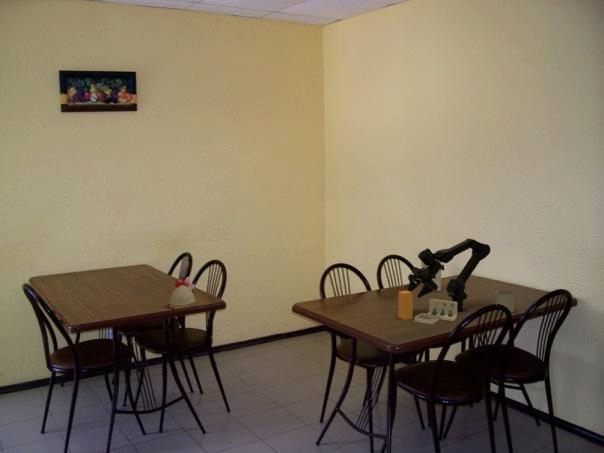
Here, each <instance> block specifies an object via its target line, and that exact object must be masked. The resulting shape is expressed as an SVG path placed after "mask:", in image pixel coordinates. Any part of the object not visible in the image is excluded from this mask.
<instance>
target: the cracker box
mask: <svg viewBox="0 0 604 453" xmlns="http://www.w3.org/2000/svg"><path fill="white" fill-rule="evenodd" d="M435 260H436V259H435ZM420 262H421V267H420V269H421V268H425V269H426V268H427V267H428V265H425V264H424V263H423V262H422V261H421V260H420ZM439 263H440V264H442V262H439ZM435 277H436V278H435V279H434V278H433V279H432V280H433V281H434V282H435V283H436V284H437V286H438V289H437V290H436V291H438V292H440V291H439V290H441V291H442V270H439V271H438V273H437V274H436V275H435ZM421 282H422V281H421ZM420 285H421V288H423V284H421V283H420Z"/></svg>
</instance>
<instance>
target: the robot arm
mask: <svg viewBox="0 0 604 453" xmlns="http://www.w3.org/2000/svg"><path fill="white" fill-rule="evenodd" d="M470 249H471V256H470V258H469V259H468V261H467V262H466V264H465V265H464V266H463V268H462V269H461V271H460V273H459V274H458V275H457V277H456V278H450V280H449V281H448V283H447V284H446V293H447V295H448V297H450V298H451V301H452V302H457V312H464V311H465V310H466V307H464V301H465V300H467V299H468V294H467V293H466V292H465V289H466V283H467V282H468V279H469V278H470V277H471V275H472V274H473V273H474V272H475V270H476V268H477V267H478V265H479V264H480V262H481V261H482V260H484V259H486V258H487V257H488V256H489V255H490V253H491V245H489V244H488V243H487V244H486V243H484V242H483V243H482V242H480V241H477V240H475V239H473V238H466V239H465V240H463V241H461V242H460V243H457V244H455V245H453V246H451V247H449V248H443V249H440V250H436V252H434V253H433V252H432V251H431V249H430V248H425V249H424V250H422V251H419V253H418V255H417V258H418V259H419V260H420V262H421V261H422V262H423V263H424V264H425V265H428V267H427V268H426V269H425V268H421V267H417V266H413V268H412V270H411V273H409V274H408V276H407V278H408V282H409V283H408V287H407V290H406V291H410V292H413V291H414V290H416V289H417V288H418V287H419V286H420V285H421V284H423V287H421V289H420V291H419V292H418V294H417V298H418V299H420V298H422V297H424V296H426V295H428V294H431V293H435V292H434V291H436V290H437V289H438V286H437V284H436V283H435V282H434V281H433V280H432V279H433V278H434V279H435V278H436V277H435V275H436V274H437V273H438V271H439V270H441V271H445V264H448V263H449V262H451V261H452V260H453V259H454V258H455V257H456V256H458V255H459V254H461V253H464V252H466V251H467V250H470ZM435 259H436V260H435ZM439 262H441V264H440V263H439ZM421 281H422V282H421Z"/></svg>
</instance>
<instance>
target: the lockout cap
mask: <svg viewBox="0 0 604 453" xmlns="http://www.w3.org/2000/svg"><path fill="white" fill-rule="evenodd" d="M413 295H414V293H413V291H412V292H410V291H407V290H401V291H398V293H397V296H398V297H397V298H398V299H397V301H398V302H397V303H398V304H397V307H398V310H397V313H398V315H397V317H398V318H399V319H401V320H403V321H404V320H405V321H406V320H411V319H413V313H414V312H413V307H414V305H413V303H414V302H413V301H414V299H413V298H414V297H413Z"/></svg>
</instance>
